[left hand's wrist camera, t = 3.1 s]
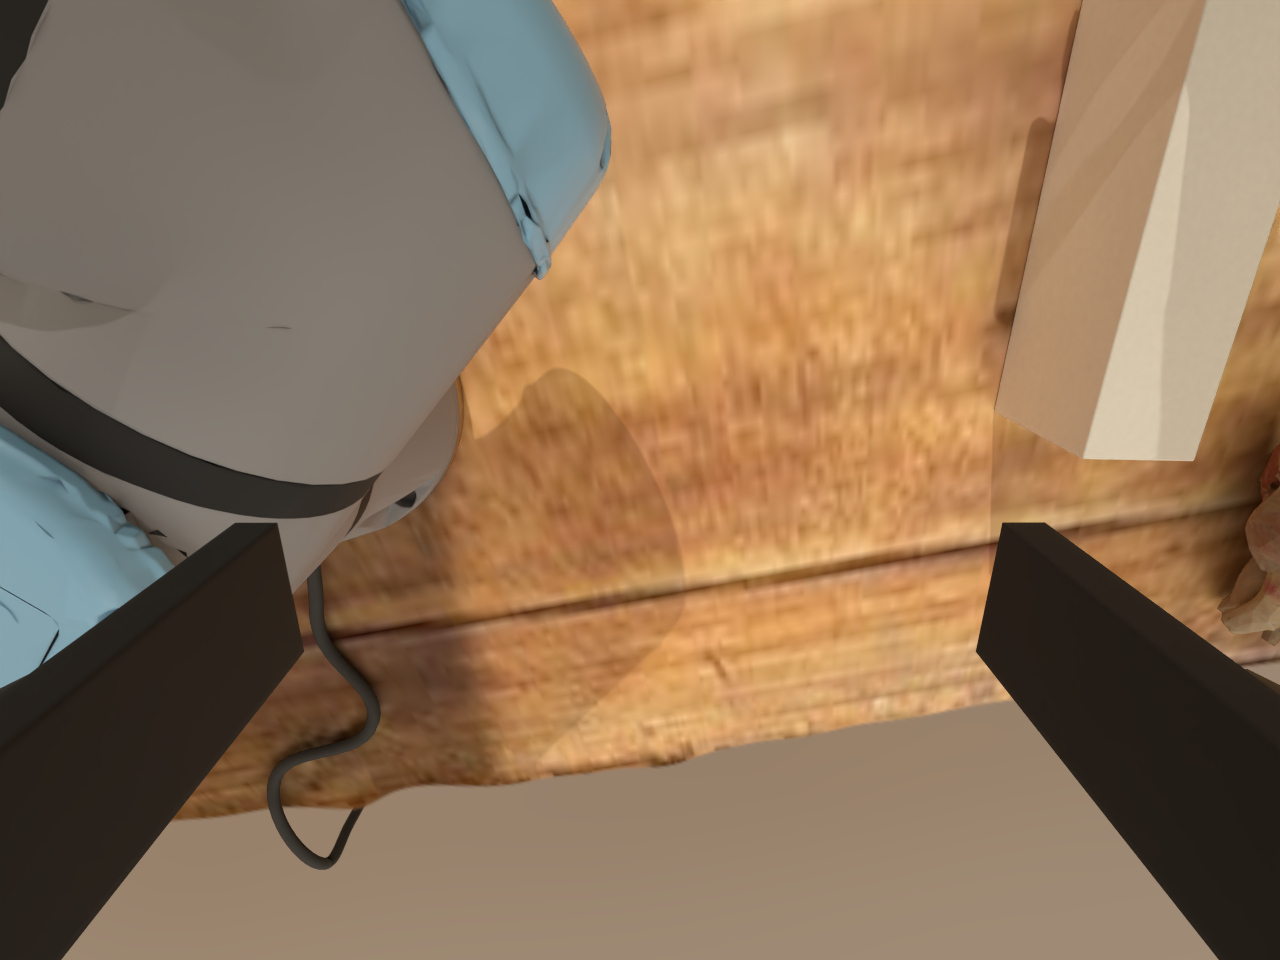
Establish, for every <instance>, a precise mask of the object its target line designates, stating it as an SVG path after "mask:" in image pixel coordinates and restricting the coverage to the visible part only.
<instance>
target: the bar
mask: <svg viewBox="0 0 1280 960" xmlns="http://www.w3.org/2000/svg"><path fill="white" fill-rule="evenodd" d="M1279 203H1280V0H1083V1H1082V6H1081V11H1080V15H1079V20H1078V25H1077V29H1076V34H1075V39H1074V43H1073V48H1072V52H1071V57H1070V62H1069V66H1068V71H1067V76H1066V80H1065V85H1064V90H1063V94H1062V99H1061V104H1060V108H1059V113H1058V118H1057V122H1056V127H1055V131H1054V136H1053V141H1052V145H1051V150H1050V155H1049V159H1048V164H1047V169H1046V173H1045V178H1044V183H1043V187H1042V192H1041V197H1040V201H1039V206H1038V210H1037V215H1036V220H1035V224H1034V229H1033V234H1032V238H1031V243H1030V248H1029V252H1028V257H1027V262H1026V266H1025V271H1024V275H1023V280H1022V285H1021V289H1020V294H1019V299H1018V303H1017V308H1016V313H1015V317H1014V322H1013V327H1012V331H1011V336H1010V341H1009V345H1008V350H1007V354H1006V359H1005V364H1004V368H1003V373H1002V378H1001V382H1000V387H999V392H998V396H997V401H996V406H995V410H994V411H995V412H996V413H998V414H999V415H1001V416H1003V417H1005V418H1007V419H1009V420H1011V421H1013V422H1015V423H1016V424H1018V425H1020V426H1022V427H1024V428H1026V429H1028V430H1030V431H1031V432H1033V433H1035V434H1037V435H1039V436H1041V437H1043V438H1045V439H1047V440H1048V441H1050V442H1052V443H1054V444H1056V445H1058V446H1060V447H1062V448H1064V449H1065V450H1067V451H1069V452H1071V453H1073V454H1075V455H1077V456H1079V457H1080V458H1082V459H1111V460H1165V461H1193V460H1194V459H1195V456H1196V453H1197V450H1198V447H1199V444H1200V441H1201V438H1202V435H1203V432H1204V429H1205V426H1206V423H1207V420H1208V417H1209V414H1210V411H1211V408H1212V405H1213V402H1214V399H1215V396H1216V393H1217V390H1218V387H1219V384H1220V381H1221V378H1222V375H1223V372H1224V369H1225V366H1226V363H1227V360H1228V357H1229V354H1230V351H1231V348H1232V345H1233V342H1234V339H1235V336H1236V333H1237V330H1238V327H1239V324H1240V321H1241V318H1242V315H1243V312H1244V309H1245V306H1246V303H1247V300H1248V297H1249V294H1250V291H1251V288H1252V285H1253V282H1254V279H1255V275H1256V272H1257V269H1258V266H1259V263H1260V260H1261V257H1262V254H1263V251H1264V248H1265V245H1266V242H1267V239H1268V236H1269V233H1270V230H1271V227H1272V224H1273V221H1274V218H1275V215H1276V212H1277V209H1278V206H1279Z"/></svg>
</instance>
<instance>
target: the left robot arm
mask: <svg viewBox="0 0 1280 960" xmlns="http://www.w3.org/2000/svg"><path fill="white" fill-rule="evenodd" d="M610 155H611V126H610V121H609V117H608V114H607V110H606V104H605V101H604V98H603V95H602V92H601V89H600V87H599V85H598V83H597V81H596V78H595V76H594V74H593V72H592V70H591V68H590V66H589V64H588V62H587V60H586V58H585V56H584V54H583V52H582V50H581V48H580V47H579V45H578V43H577V41H576V40H575V38H574V36H573V34H572V33H571V31H570V29H569V28H568V26H567V24H566V22H565V21H564V19H563V18H562V16H561V14H560V13H559V11H558V10H557V8H556V6H555V5H554V3H553V1H552V0H0V960H61V959H62V958H63V957H64V955H65V954H66V953H67V952H68V950H69V949H70V948H71V947H72V945H73V944H74V943H75V941H76V940H77V939H78V938H79V936H80V935H81V934H82V933H83V931H84V930H85V929H86V928H87V926H88V925H89V924H90V922H91V921H92V920H93V919H94V917H95V916H96V915H97V914H98V912H99V911H100V910H101V909H102V907H103V906H104V905H105V903H106V902H107V901H108V900H109V898H110V897H111V896H112V895H113V893H114V892H115V891H116V890H117V888H118V887H119V886H120V884H121V883H122V882H123V881H124V879H125V878H126V877H127V876H128V874H129V873H130V872H131V871H132V869H133V868H134V867H135V865H136V864H137V863H138V862H139V860H140V859H141V858H142V857H143V855H144V854H145V853H146V851H147V850H148V849H149V848H150V846H151V845H152V844H153V843H154V841H155V840H156V839H157V837H158V836H159V835H160V834H161V832H162V831H163V830H164V829H165V827H166V826H167V825H168V824H169V822H170V821H171V820H172V819H173V817H174V816H175V815H176V813H177V812H178V811H179V810H180V808H181V807H182V806H183V805H184V803H185V802H186V801H187V799H188V798H189V797H190V796H191V794H192V793H193V792H194V791H195V789H196V788H197V787H198V786H199V784H200V783H201V782H202V780H203V779H204V778H205V777H206V775H207V774H208V773H209V772H210V770H211V769H212V768H213V766H214V765H215V764H216V763H217V761H218V760H219V759H220V758H221V756H222V755H223V754H224V753H225V751H226V750H227V749H228V747H229V746H230V745H231V744H232V742H233V741H234V740H235V739H236V737H237V736H238V735H239V734H240V732H241V731H242V730H243V728H244V727H245V726H246V725H247V723H248V722H249V721H250V720H251V718H252V717H253V716H254V714H255V713H256V712H257V711H258V709H259V708H260V707H261V706H262V704H263V703H264V702H265V701H266V699H267V698H268V697H269V695H270V694H271V693H272V692H273V690H274V689H275V688H276V687H277V685H278V684H279V683H280V682H281V680H282V679H283V678H284V676H285V675H286V674H287V673H288V671H289V670H290V669H291V668H292V666H293V665H294V664H295V662H296V661H297V660H298V659H299V657H300V656H301V655H302V654H303V652H304V649H303V644H302V639H301V634H300V629H299V625H298V620H297V615H296V610H295V605H294V600H293V595H292V594H293V593H294V592H295V591H296V590H297V589H298V588H299V587H300V585H301V584H302V583H303V582H304V581H305V580H306V579H307V584H308V593H309V617H310V624H311V628H312V631H313V635H314V637H315V640H316V642H317V644H318V646H319V648H320V649H321V651H322V652H323V654H324V655H325V657H326V658H327V659H328V660H329V662H330V663H331V664H332V665H333V666H334V667H335V668H336V670H337V671H338V672H339V673H340V674H341V675H342V676H343V677H344V678H345V679H346V680H347V681H348V682H349V683H350V684H351V685H352V686H353V687H354V688H355V690H356V691H357V692H358V693H359V695H360V696H361V697H362V699H363V701H364V702H365V705H366V707H367V713H368V715H367V722H366V724H365V727H364V728H363V729H362V730H361V731H360V732H359V733H358V734H356V735H354V736H353V737H351V738H348V739H346V740H343V741H340V742H336V743H332V744H328V745H324V746H320V747H315V748H311V749H308V750H304V751H300V752H298V753H295V754H293V755H290V756H288V757H287V758H285V759H283V760H282V761H280V763H279V764H278V765H277V766H276V767H275V768H274V769H273V771H272V773H271V775H270V777H269V779H268V785H267V800H268V806H269V810H270V813H271V816H272V819H273V821H274V824H275V826H276V828H277V830H278V832H279V834H280V836H281V837H282V839H283V840H284V842H285V843H286V845H287V846H288V847H289V848H290V850H291V851H292V852H293V853H294V854H295V855H296V856H297V857H298V858H299V859H300V860H301V861H303V862H304V863H305V864H307V865H309V866H310V867H312V868H315V869H318V870H326V869H329V868H330V867H332V866H333V865H334V864H335V863H336V862H337V861H338V860H339V858H340V856H341V854H342V852H343V850H344V847H345V845H346V843H347V840H348V837H349V835H350V833H351V831H352V829H353V827H354V825H355V823H356V821H357V819H358V818H359V816H360V814H361V812H362V810H363V809H364V807H362V808H356V809H352V811H351V813H350V814H349V816H348V818H347V820H346V821H345V823H344V825H343V827H342V829H341V832H340V834H339V836H338V838H337V841H336V843H335V845H334V847H333V849H332V851H331V853H330V854H329V856H328V857H326V858H323V857H320V856H318V855H316V854H315V853H313V852H312V851H311V850H309V849H308V848H307V847H306V846H305V845H304V844H303V843H302V842H301V841H300V839H299V838H298V837H297V836H296V834H295V833H294V831H293V830H292V828H291V827H290V825H289V823H288V821H287V819H286V816H285V814H284V812H283V808H282V805H281V800H280V783H281V779H282V777H283V775H284V774H285V773H286V772H287V771H288V770H289V769H291V768H292V767H294V766H296V765H299V764H301V763H304V762H307V761H311V760H315V759H319V758H323V757H328V756H332V755H336V754H340V753H343V752H347V751H349V750H352V749H354V748H357V747H359V746H360V745H362V744H364V743H365V742H367V741H368V740H369V739H370V737H371V736H372V735H373V734H374V733H375V730H376V728H377V726H378V724H379V721H380V706H379V703H378V700H377V697H376V696H375V694H374V692H373V691H372V689H371V688H370V686H369V685H368V684H367V682H366V681H365V680H364V679H363V678H362V677H361V676H360V674H359V673H358V672H357V671H356V670H355V669H354V668H353V667H352V666H351V665H350V664H349V663H348V662H347V661H346V660H345V659H344V658H343V656H342V655H341V654H340V653H339V652H338V650H337V649H336V648H335V646H334V645H333V643H332V642H331V639H330V637H329V635H328V633H327V630H326V626H325V622H324V613H323V585H322V576H321V566H320V564H321V563H322V562H323V561H324V560H325V558H326V557H327V556H328V555H329V554H330V553H331V552H332V551H333V550H334V549H335V548H336V546H337V545H338V544H339V543H340V542H342V541H346V540H349V539H352V538H355V537H358V536H362V535H365V534H368V533H371V532H374V531H377V530H380V529H382V528H384V527H387V526H389V525H391V524H393V523H394V522H396V521H398V520H399V519H401V518H402V517H404V516H405V515H407V514H408V513H409V512H411V511H412V510H414V509H415V508H416V507H417V506H419V505H420V504H421V503H422V502H423V501H424V500H425V499H426V498H427V497H428V496H429V495H430V494H431V493H432V491H433V490H434V489H435V488H436V486H437V485H438V484H439V482H440V481H441V479H442V478H443V477H444V475H445V474H446V472H447V471H448V469H449V467H450V465H451V463H452V461H453V459H454V457H455V454H456V452H457V449H458V445H459V442H460V438H461V433H462V427H463V396H462V388H461V384H460V379H459V375H460V373H461V372H462V371H463V370H464V368H465V367H466V366H467V364H468V363H469V362H470V360H471V359H472V358H473V357H474V355H475V354H476V353H477V351H478V350H479V349H480V347H481V346H482V345H483V344H484V342H485V341H486V340H487V338H488V337H489V336H490V334H491V333H492V332H493V331H494V329H495V328H496V327H497V325H498V324H499V323H500V321H501V320H502V319H503V318H504V316H505V315H506V314H507V312H508V311H509V310H510V308H511V307H512V306H513V304H514V303H515V302H516V301H517V299H518V298H519V297H520V295H521V294H522V293H523V291H524V290H525V289H526V288H527V286H528V285H529V284H530V282H531V281H532V280H533V278H534V277H536V278H537V279H539V280H541V279H542V278H543V277H544V276H545V275H546V274H547V272H548V271H549V269H550V267H551V254H552V253H553V252H554V250H555V249H556V247H557V246H558V244H559V243H560V242H561V240H562V239H563V237H564V236H565V234H566V233H567V232H568V230H569V229H570V227H571V226H572V224H573V223H574V222H575V220H576V219H577V217H578V216H579V214H580V213H581V212H582V210H583V209H584V207H585V206H586V204H587V203H588V202H589V200H590V199H591V197H592V196H593V194H594V193H595V192H596V190H597V189H598V187H599V185H600V184H601V182H602V180H603V178H604V175H605V173H606V171H607V168H608V164H609V160H610ZM976 652H977V654H978V655H979V656H980V657H981V659H982V660H983V661H984V662H985V664H986V665H987V666H988V668H989V669H990V670H991V671H992V673H993V674H994V675H995V676H996V678H997V679H998V680H999V682H1000V683H1001V684H1002V685H1003V687H1004V688H1005V689H1006V690H1007V692H1008V693H1009V694H1010V695H1011V697H1012V698H1013V699H1014V701H1015V702H1016V703H1017V704H1018V706H1019V707H1020V708H1021V709H1022V711H1023V712H1024V713H1025V714H1026V716H1027V717H1028V718H1029V720H1030V721H1031V722H1032V723H1033V725H1034V726H1035V727H1036V728H1037V730H1038V731H1039V732H1040V733H1041V735H1042V736H1043V737H1044V739H1045V740H1046V741H1047V742H1048V744H1049V745H1050V746H1051V747H1052V749H1053V750H1054V751H1055V753H1056V754H1057V755H1058V756H1059V758H1060V759H1061V760H1062V761H1063V763H1064V764H1065V765H1066V766H1067V768H1068V769H1069V770H1070V772H1071V773H1072V774H1073V775H1074V777H1075V778H1076V779H1077V780H1078V782H1079V783H1080V784H1081V786H1082V787H1083V788H1084V789H1085V791H1086V792H1087V793H1088V794H1089V796H1090V797H1091V798H1092V799H1093V801H1094V802H1095V803H1096V805H1097V806H1098V807H1099V808H1100V810H1101V811H1102V812H1103V813H1104V815H1105V816H1106V817H1107V818H1108V820H1109V821H1110V822H1111V824H1112V825H1113V826H1114V827H1115V829H1116V830H1117V831H1118V832H1119V834H1120V835H1121V836H1122V838H1123V839H1124V840H1125V841H1126V843H1127V844H1128V845H1129V846H1130V848H1131V849H1132V850H1133V851H1134V853H1135V854H1136V855H1137V857H1138V858H1139V859H1140V860H1141V862H1142V863H1143V864H1144V865H1145V867H1146V868H1147V869H1148V871H1149V872H1150V873H1151V874H1152V876H1153V877H1154V878H1155V879H1156V881H1157V882H1158V883H1159V884H1160V886H1161V887H1162V888H1163V890H1164V891H1165V892H1166V893H1167V894H1168V896H1169V897H1170V898H1171V900H1172V901H1173V902H1174V903H1175V905H1176V906H1177V907H1178V909H1179V910H1180V911H1181V912H1182V914H1183V915H1184V916H1185V917H1186V919H1187V920H1188V921H1189V922H1190V924H1191V925H1192V926H1193V928H1194V929H1195V930H1196V931H1197V933H1198V934H1199V935H1200V936H1201V938H1202V939H1203V940H1204V941H1205V943H1206V944H1207V945H1208V946H1209V948H1210V949H1211V950H1212V952H1213V953H1214V954H1215V955H1216V957H1217V958H1218V959H1219V960H1280V685H1278V684H1276V683H1274V682H1272V681H1270V680H1268V679H1266V678H1264V677H1262V676H1260V675H1258V674H1256V673H1254V672H1252V671H1250V670H1248V669H1244V668H1242V667H1241V666H1240V665H1238V664H1237V663H1235V662H1234V661H1233V660H1231V659H1230V658H1229V657H1227V656H1226V655H1225V654H1223V653H1222V652H1220V651H1219V650H1218V649H1216V648H1215V647H1214V646H1212V645H1211V644H1210V643H1208V642H1207V641H1205V640H1204V639H1203V638H1201V637H1200V636H1199V635H1197V634H1196V633H1195V632H1193V631H1192V630H1190V629H1189V628H1188V627H1186V626H1185V625H1184V624H1182V623H1181V622H1180V621H1178V620H1177V619H1175V618H1174V617H1173V616H1171V615H1170V614H1169V613H1167V612H1166V611H1165V610H1163V609H1162V608H1160V607H1159V606H1158V605H1156V604H1155V603H1154V602H1152V601H1151V600H1150V599H1148V598H1147V597H1146V596H1144V595H1143V594H1141V593H1140V592H1139V591H1137V590H1136V589H1135V588H1133V587H1132V586H1131V585H1129V584H1128V583H1126V582H1125V581H1124V580H1122V579H1121V578H1120V577H1118V576H1117V575H1116V574H1114V573H1113V572H1111V571H1110V570H1109V569H1107V568H1106V567H1105V566H1103V565H1102V564H1101V563H1099V562H1098V561H1096V560H1095V559H1094V558H1092V557H1091V556H1090V555H1088V554H1087V553H1086V552H1084V551H1083V550H1081V549H1080V548H1079V547H1077V546H1076V545H1075V544H1073V543H1072V542H1071V541H1069V540H1068V539H1066V538H1065V537H1064V536H1062V535H1061V534H1060V533H1058V532H1057V531H1056V530H1054V529H1053V528H1051V527H1050V526H1049V525H1047V524H1046V523H1002V528H1001V533H1000V537H999V542H998V547H997V552H996V557H995V562H994V566H993V571H992V576H991V581H990V586H989V591H988V595H987V600H986V605H985V610H984V615H983V620H982V625H981V629H980V634H979V639H978V644H977V649H976Z"/></svg>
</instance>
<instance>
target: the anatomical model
mask: <svg viewBox="0 0 1280 960" xmlns="http://www.w3.org/2000/svg"><path fill="white" fill-rule="evenodd" d="M1260 482H1261V489H1260V490H1261V495H1262V500H1263V501H1262V503H1261V504H1260V505H1259V506H1258V507H1257V508H1256V509H1255V510H1254V511H1253V512H1252V514H1251V516H1250V517H1249V519H1248V521H1247V524H1246V527H1245V532H1246V537H1247V541H1248V546H1249V550H1250V552H1251V554H1252V555H1253V557H1252V558H1251V560H1250V561H1249V562H1248V563H1247V564H1246V565H1245V567H1244V568H1243V569H1242V571H1241V573H1240V574H1239V576H1238V579H1237V581H1236V583H1235V586H1234V588H1233V590H1232V593H1231V594H1230V595H1229V596H1227V597H1226V598H1224V599H1223V600H1222V602H1221V603H1220V605H1219V606H1218V608H1217V609H1219V610H1220V611H1221V612H1223V613H1222V617H1221V620H1222V622H1223V623H1224V624H1225V626H1226V627H1227V628H1228V629H1229V631H1230V632H1231V633H1233V634H1247V633H1253V632H1259V631H1263V634H1262V637H1261V638H1263V639H1264V640H1266V641H1267V642H1269V643H1271V644H1272V645H1274V646H1275V645H1276V644H1277V643H1278V641H1279V640H1280V444H1279V445H1278V446H1277V447H1276V448H1275V450H1274V451H1273V452H1272V454H1271V457H1270V459H1269V461H1268V463H1267V466H1266V468H1265V470H1264V472H1263V474H1262V476H1261V478H1260Z"/></svg>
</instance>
